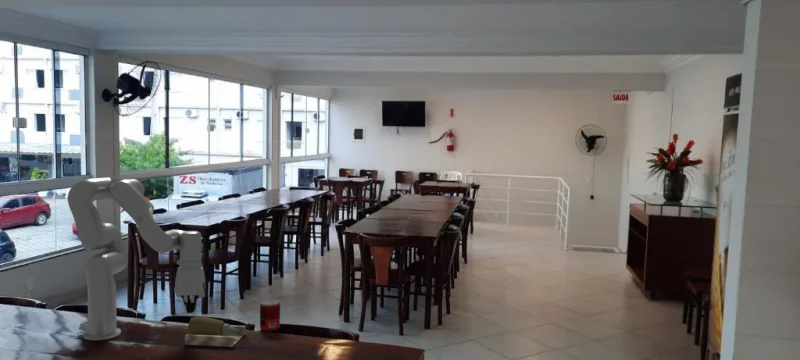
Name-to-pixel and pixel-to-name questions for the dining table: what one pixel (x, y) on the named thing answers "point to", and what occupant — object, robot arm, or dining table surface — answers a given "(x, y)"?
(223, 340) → the cradle
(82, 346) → the dining table surface
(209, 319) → the squeeze bottle
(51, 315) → the dining table surface
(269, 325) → the canned food
